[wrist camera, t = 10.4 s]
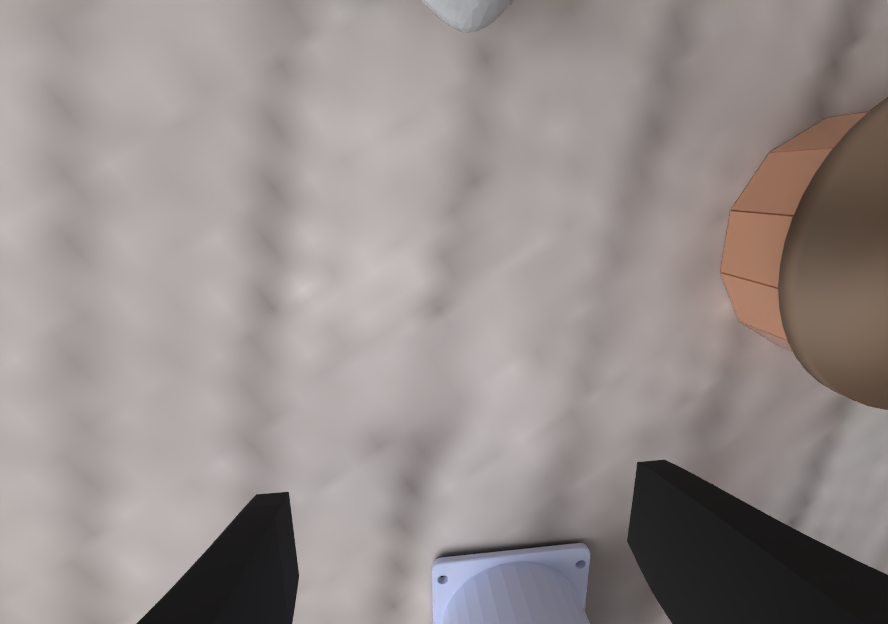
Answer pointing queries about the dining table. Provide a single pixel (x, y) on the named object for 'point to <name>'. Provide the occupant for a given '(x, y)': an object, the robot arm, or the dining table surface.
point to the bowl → (772, 224)
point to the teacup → (468, 12)
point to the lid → (842, 267)
